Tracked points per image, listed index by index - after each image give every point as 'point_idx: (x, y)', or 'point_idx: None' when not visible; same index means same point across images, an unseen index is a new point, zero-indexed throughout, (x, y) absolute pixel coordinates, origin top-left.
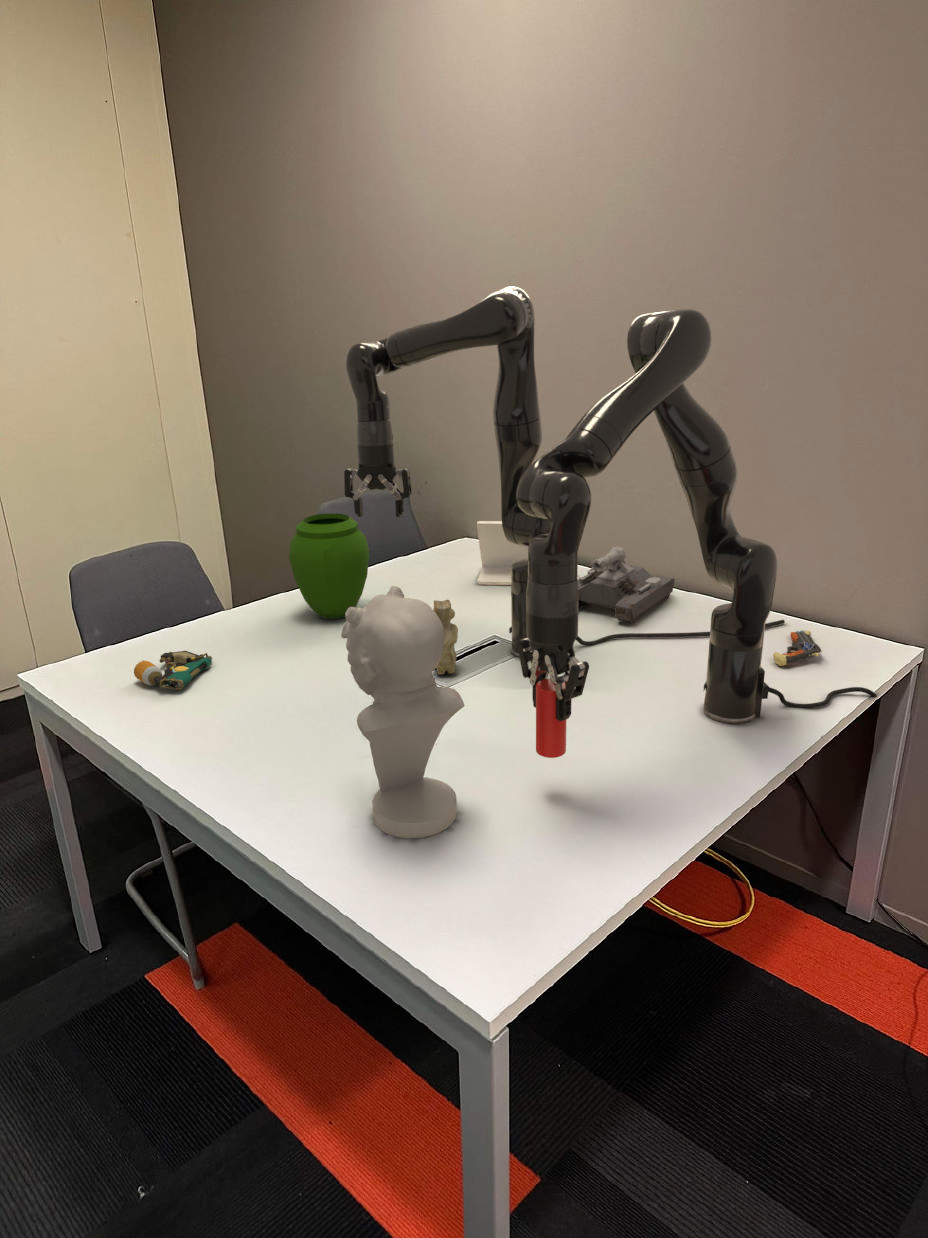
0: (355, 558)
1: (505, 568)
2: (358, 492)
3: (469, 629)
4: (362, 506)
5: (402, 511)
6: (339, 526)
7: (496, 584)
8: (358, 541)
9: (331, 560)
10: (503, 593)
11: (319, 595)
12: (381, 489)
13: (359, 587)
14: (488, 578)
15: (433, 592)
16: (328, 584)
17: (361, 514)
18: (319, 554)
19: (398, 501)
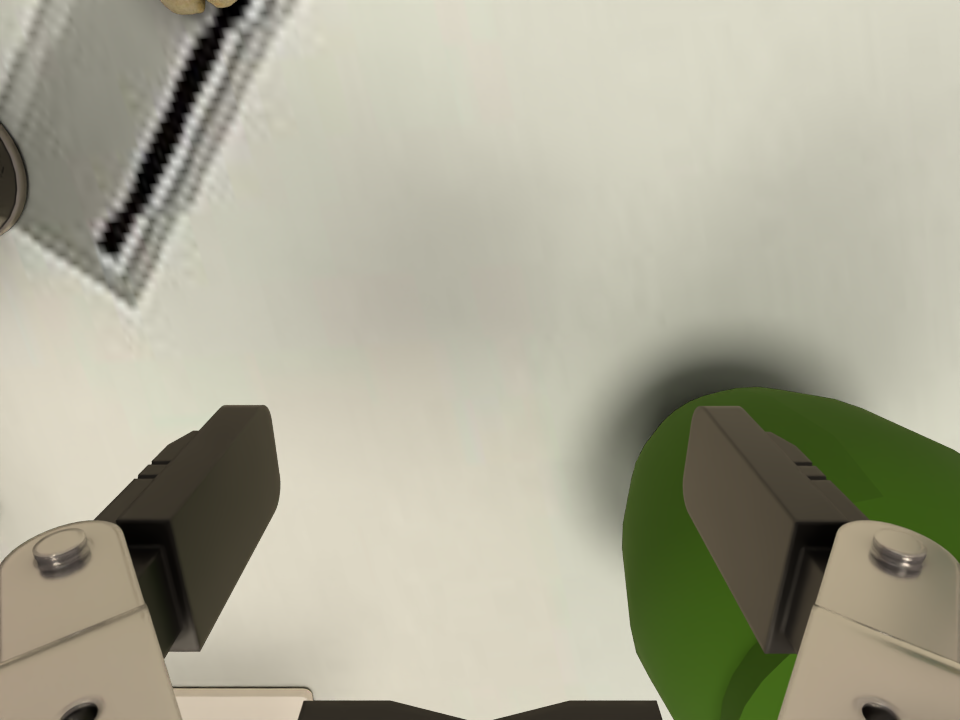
0: (681, 520)
1: None
2: (901, 629)
3: (230, 349)
4: (719, 556)
5: (163, 452)
6: None
7: (252, 689)
8: (691, 620)
9: None
10: (214, 632)
11: (790, 392)
12: (365, 704)
13: (638, 472)
14: (280, 718)
15: (428, 630)
16: (770, 404)
17: (698, 442)
18: (889, 472)
19: (123, 520)
